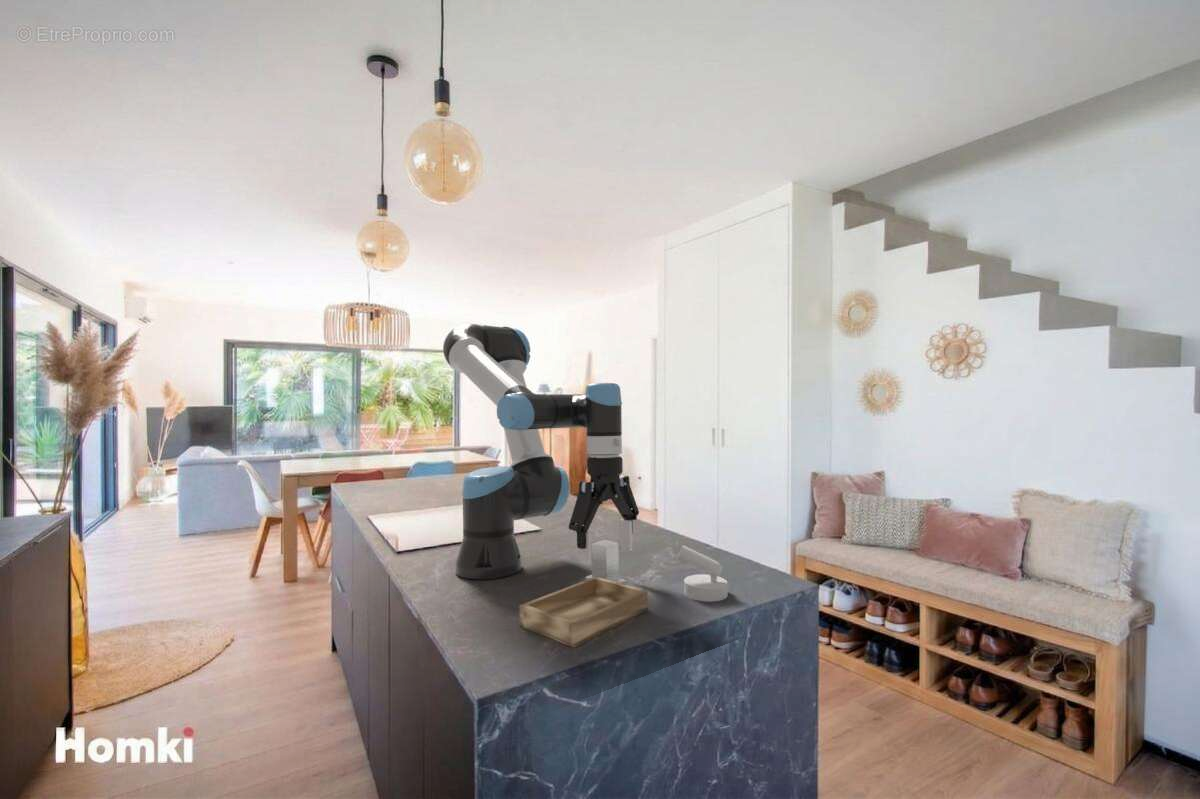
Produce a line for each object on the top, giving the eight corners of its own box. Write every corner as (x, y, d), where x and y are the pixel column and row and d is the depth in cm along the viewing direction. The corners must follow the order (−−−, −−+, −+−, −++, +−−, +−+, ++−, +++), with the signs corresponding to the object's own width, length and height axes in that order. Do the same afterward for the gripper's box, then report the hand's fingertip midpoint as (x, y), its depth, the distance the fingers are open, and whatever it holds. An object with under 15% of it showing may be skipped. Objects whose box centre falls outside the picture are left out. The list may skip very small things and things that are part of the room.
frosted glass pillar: (585, 584, 112) (584, 541, 112) (597, 579, 115) (597, 538, 115) (614, 592, 107) (613, 548, 107) (626, 587, 110) (625, 544, 110)
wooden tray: (519, 625, 91) (519, 605, 91) (595, 593, 106) (595, 576, 106) (573, 647, 83) (573, 625, 83) (647, 609, 98) (647, 590, 98)
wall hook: (677, 539, 112) (726, 541, 109) (678, 584, 111) (726, 587, 109) (675, 550, 103) (727, 553, 101) (675, 599, 103) (728, 603, 101)
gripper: (577, 461, 99) (579, 574, 99) (653, 452, 118) (655, 546, 118) (549, 459, 104) (551, 567, 104) (626, 451, 123) (628, 542, 123)
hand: (606, 556), depth 111 cm, fingers open, 13 cm apart
